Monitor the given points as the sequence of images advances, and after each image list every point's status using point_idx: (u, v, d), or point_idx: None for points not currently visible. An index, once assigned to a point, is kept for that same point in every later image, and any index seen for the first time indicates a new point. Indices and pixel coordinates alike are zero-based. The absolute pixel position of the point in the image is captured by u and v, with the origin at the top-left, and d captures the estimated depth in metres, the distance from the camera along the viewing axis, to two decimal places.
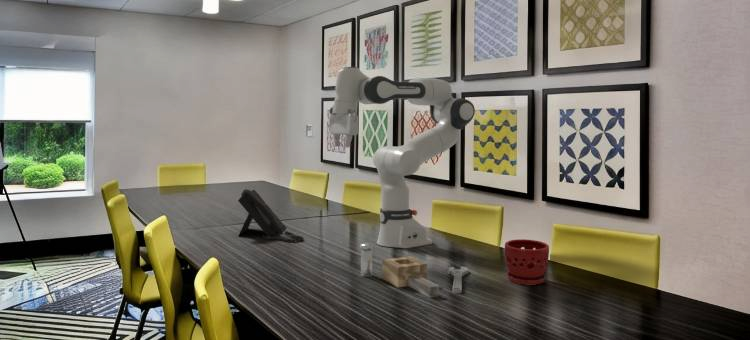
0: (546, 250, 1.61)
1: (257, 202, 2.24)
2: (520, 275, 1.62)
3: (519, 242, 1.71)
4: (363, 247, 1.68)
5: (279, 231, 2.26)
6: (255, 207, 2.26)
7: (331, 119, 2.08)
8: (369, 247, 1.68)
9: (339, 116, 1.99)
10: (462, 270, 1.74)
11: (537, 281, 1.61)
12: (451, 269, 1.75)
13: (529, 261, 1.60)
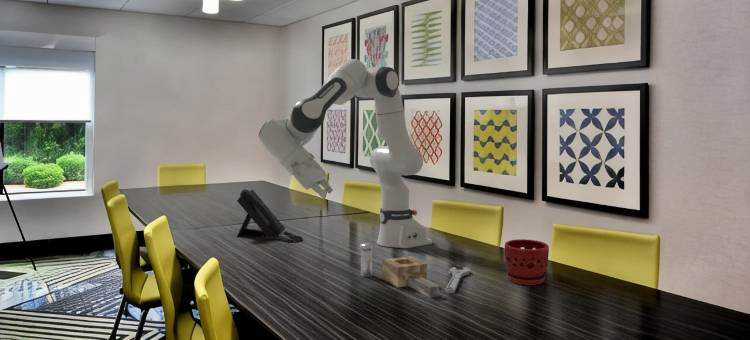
0: (546, 250, 1.61)
1: (256, 202, 2.24)
2: (520, 275, 1.62)
3: (519, 242, 1.71)
4: (363, 247, 1.68)
5: (278, 231, 2.26)
6: (254, 207, 2.26)
7: None
8: (369, 247, 1.68)
9: None
10: (463, 271, 1.73)
11: (537, 281, 1.61)
12: (452, 269, 1.75)
13: (529, 261, 1.60)
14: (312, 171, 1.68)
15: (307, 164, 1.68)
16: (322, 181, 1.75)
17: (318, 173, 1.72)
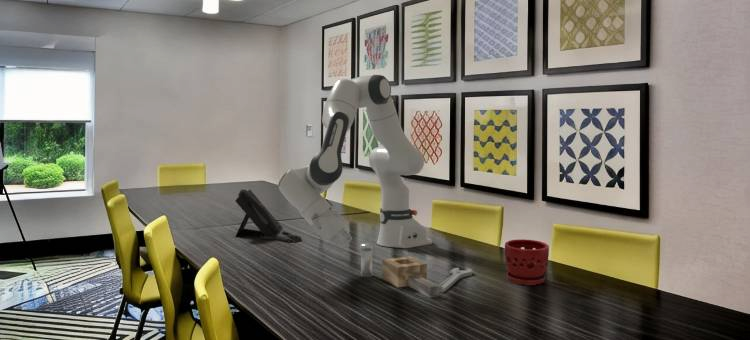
0: (546, 250, 1.61)
1: (254, 202, 2.24)
2: (520, 275, 1.62)
3: (519, 242, 1.71)
4: (363, 247, 1.68)
5: (276, 231, 2.26)
6: (252, 207, 2.26)
7: None
8: (369, 247, 1.68)
9: None
10: (464, 271, 1.72)
11: (537, 281, 1.61)
12: (454, 270, 1.74)
13: (529, 261, 1.60)
14: (332, 222, 1.68)
15: (327, 215, 1.68)
16: (341, 230, 1.76)
17: (337, 223, 1.72)
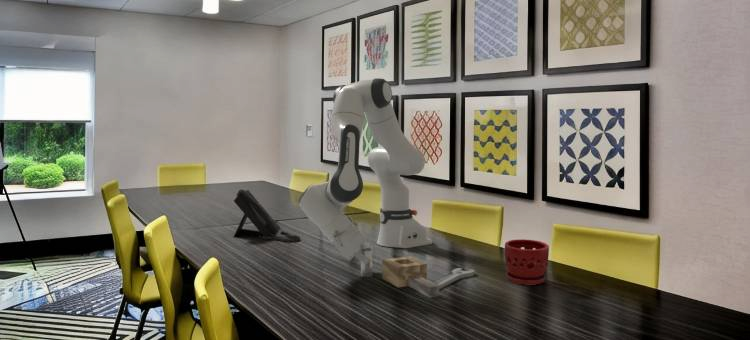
0: (546, 250, 1.61)
1: (253, 202, 2.24)
2: (520, 275, 1.62)
3: (519, 242, 1.71)
4: (363, 247, 1.68)
5: (275, 231, 2.26)
6: (250, 207, 2.26)
7: None
8: (369, 247, 1.68)
9: None
10: (465, 272, 1.72)
11: (537, 281, 1.61)
12: (456, 270, 1.74)
13: (529, 261, 1.60)
14: (353, 239, 1.68)
15: (348, 232, 1.68)
16: None
17: (358, 239, 1.72)
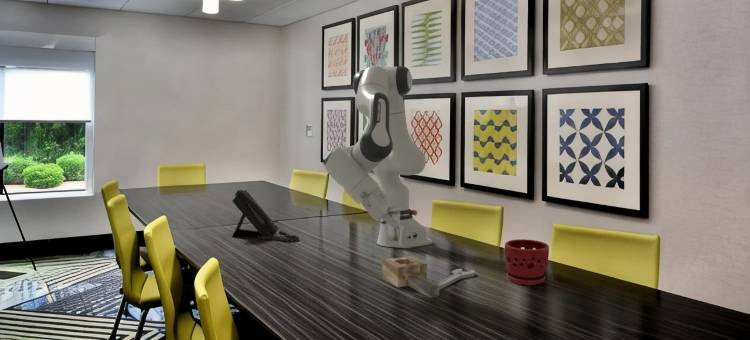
0: (546, 250, 1.61)
1: (251, 202, 2.23)
2: (520, 275, 1.62)
3: (519, 242, 1.71)
4: (391, 210, 1.63)
5: (273, 231, 2.26)
6: (249, 207, 2.25)
7: None
8: (397, 210, 1.63)
9: None
10: (466, 272, 1.71)
11: (537, 281, 1.61)
12: (456, 270, 1.73)
13: (529, 261, 1.60)
14: (380, 201, 1.63)
15: (375, 194, 1.63)
16: None
17: (385, 202, 1.67)
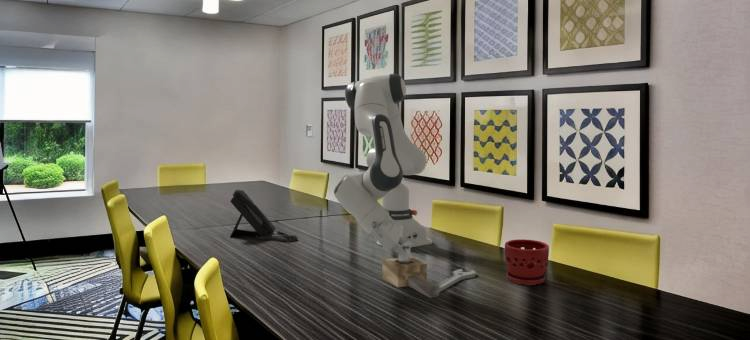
0: (546, 250, 1.61)
1: (249, 202, 2.23)
2: (520, 275, 1.62)
3: (519, 242, 1.71)
4: (401, 245, 1.62)
5: (272, 231, 2.26)
6: (247, 207, 2.25)
7: None
8: (407, 245, 1.62)
9: None
10: (467, 273, 1.70)
11: (537, 281, 1.61)
12: (457, 271, 1.73)
13: (529, 261, 1.60)
14: (391, 230, 1.62)
15: (386, 223, 1.62)
16: (398, 238, 1.70)
17: (395, 231, 1.66)
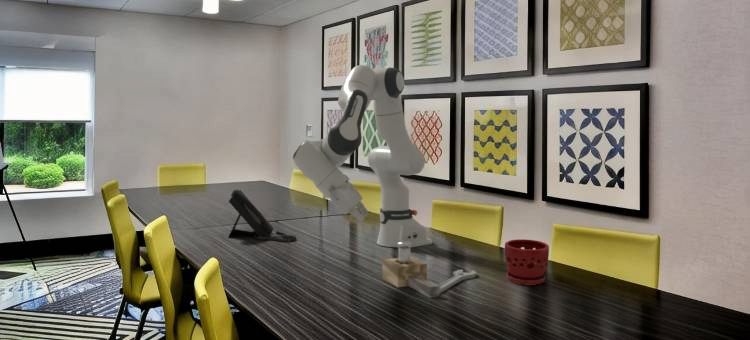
0: (546, 250, 1.61)
1: (248, 202, 2.23)
2: (520, 275, 1.62)
3: (519, 242, 1.71)
4: (401, 245, 1.62)
5: (270, 231, 2.26)
6: (245, 207, 2.25)
7: None
8: (407, 245, 1.62)
9: None
10: (467, 273, 1.70)
11: (537, 281, 1.61)
12: (457, 271, 1.72)
13: (529, 261, 1.60)
14: (349, 194, 1.63)
15: (344, 187, 1.63)
16: (358, 204, 1.70)
17: (354, 196, 1.67)
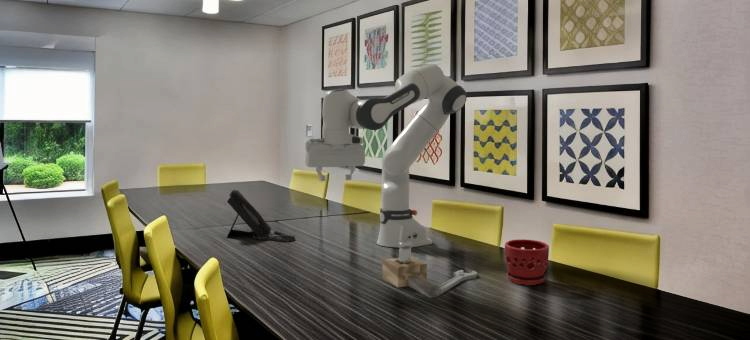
0: (546, 250, 1.61)
1: (246, 203, 2.23)
2: (520, 275, 1.62)
3: (519, 242, 1.71)
4: (402, 245, 1.62)
5: (269, 231, 2.25)
6: (244, 208, 2.24)
7: None
8: (408, 245, 1.62)
9: None
10: (468, 274, 1.70)
11: (537, 281, 1.61)
12: (458, 272, 1.72)
13: (529, 261, 1.60)
14: (331, 155, 1.75)
15: (331, 147, 1.75)
16: (350, 166, 1.80)
17: (342, 159, 1.77)
